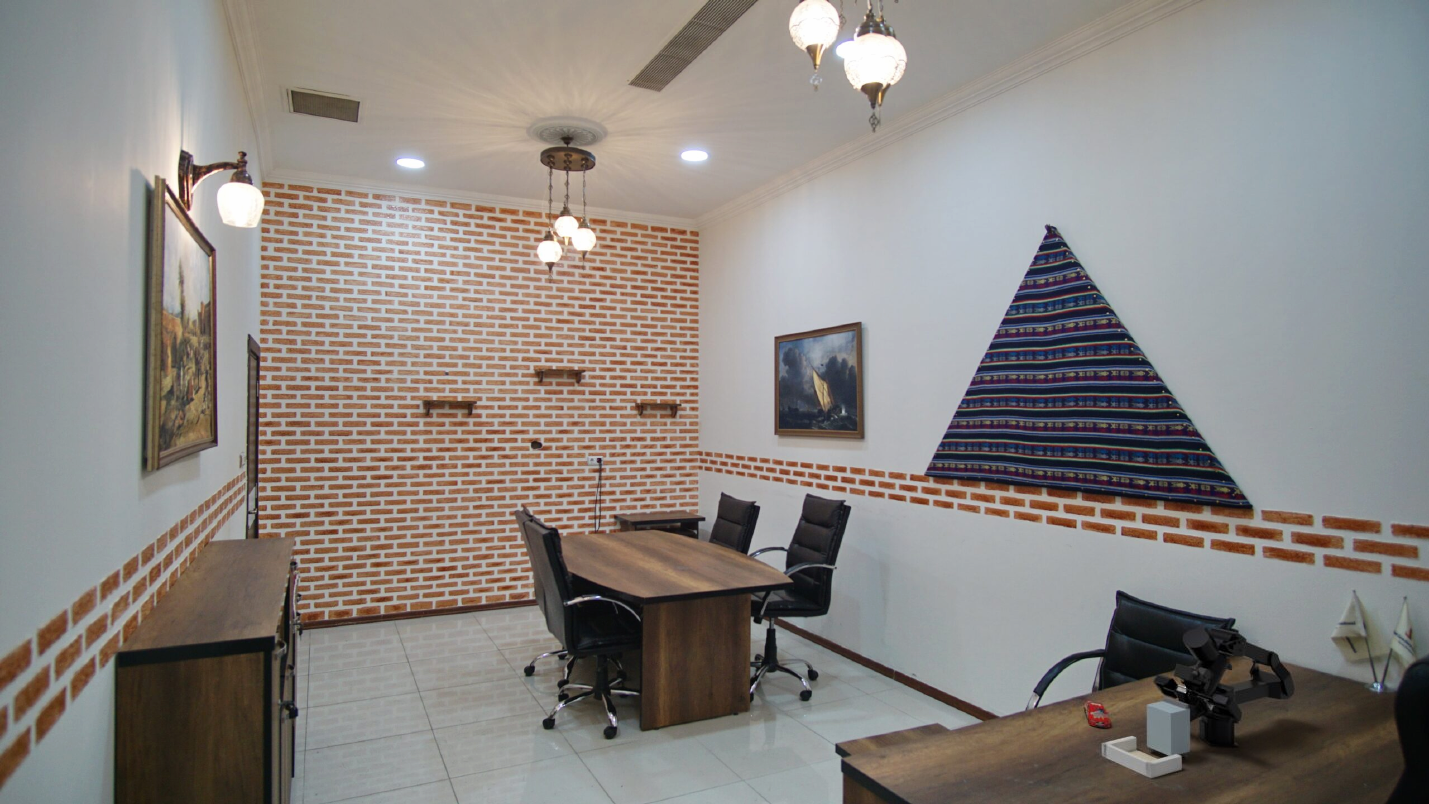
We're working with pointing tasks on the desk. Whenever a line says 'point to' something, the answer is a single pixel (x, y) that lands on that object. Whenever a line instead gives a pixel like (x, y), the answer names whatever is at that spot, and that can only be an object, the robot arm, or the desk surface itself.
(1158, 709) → the pale grey upright block
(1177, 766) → the bay
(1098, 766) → the desk surface
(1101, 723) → the race car
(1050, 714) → the desk surface
